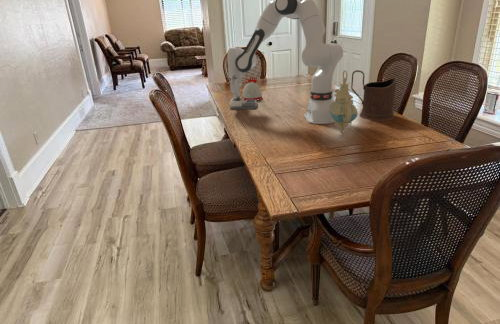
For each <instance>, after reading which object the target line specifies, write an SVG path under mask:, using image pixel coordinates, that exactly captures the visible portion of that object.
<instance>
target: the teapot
mask: <svg viewBox="0 0 500 324" xmlns="http://www.w3.org/2000/svg"><path fill="white" fill-rule="evenodd" d="M347 81H348V71H347V70H346V69H345V70H343V72H342V84H341V82H339V85H340V87H338V88H335V90H334V93H336V94H334V97H335V99H334V102H333V103H332V104H331V106H330V108H329V112H330V114H331V116H332V118H333V121H334V124H336V125H337V126H338V127H339V132H340V134H343V133H344V129H345V128H346V127H347V126H349V125H350V124H352V122H353V121H354V120H356V119H357V117H358V115H359V113H358V108H356V105H354V96H352V94H350V89H349V84H350V82H348V83H347Z"/></svg>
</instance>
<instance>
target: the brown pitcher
mask: <svg viewBox="0 0 500 324" xmlns="http://www.w3.org/2000/svg"><path fill="white" fill-rule="evenodd" d="M355 73H361V74H362V86H363V87H362V88H363V89H362V90H363V98H362V97H361V96H360V95H359V94H358V93H357V91H356V90H354V88H353V86H354V85H353V83H354V74H355ZM396 86H397V78H390V79H388V80H385V81H373V82H372V81H371V82H368V83H365V73H364V72H363V71H362V70H357V69H356V70H354V71H352V74H351V85H350V87H351V91H352V92H353V93H354V94H355V95H356V97H358V99H359V100H361V105H362V109H361V111H360V113H359V114H358V115H359V117H360V118H361V119H364V120H369V121H377V122H380V121H381V122H383V121H385V122H386V121H390V120H393V119H394V118H395V115H394V111H393V109H394V101H395V96H396V95H395V94H396Z"/></svg>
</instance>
